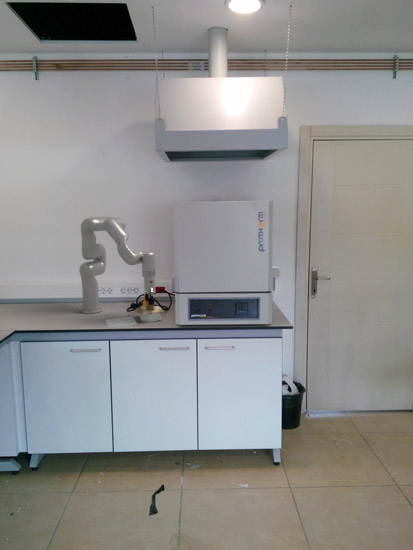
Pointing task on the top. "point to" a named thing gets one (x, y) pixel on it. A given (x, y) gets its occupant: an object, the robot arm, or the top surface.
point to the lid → (149, 309)
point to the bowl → (150, 317)
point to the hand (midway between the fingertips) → (149, 302)
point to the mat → (120, 322)
